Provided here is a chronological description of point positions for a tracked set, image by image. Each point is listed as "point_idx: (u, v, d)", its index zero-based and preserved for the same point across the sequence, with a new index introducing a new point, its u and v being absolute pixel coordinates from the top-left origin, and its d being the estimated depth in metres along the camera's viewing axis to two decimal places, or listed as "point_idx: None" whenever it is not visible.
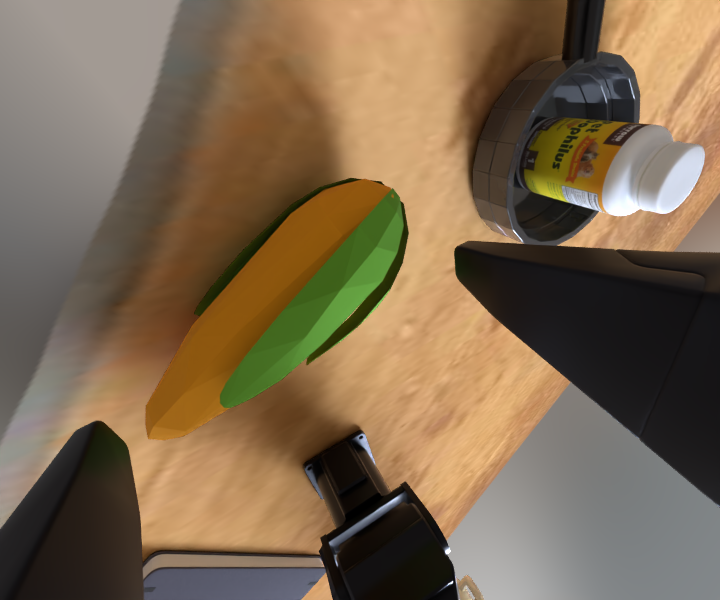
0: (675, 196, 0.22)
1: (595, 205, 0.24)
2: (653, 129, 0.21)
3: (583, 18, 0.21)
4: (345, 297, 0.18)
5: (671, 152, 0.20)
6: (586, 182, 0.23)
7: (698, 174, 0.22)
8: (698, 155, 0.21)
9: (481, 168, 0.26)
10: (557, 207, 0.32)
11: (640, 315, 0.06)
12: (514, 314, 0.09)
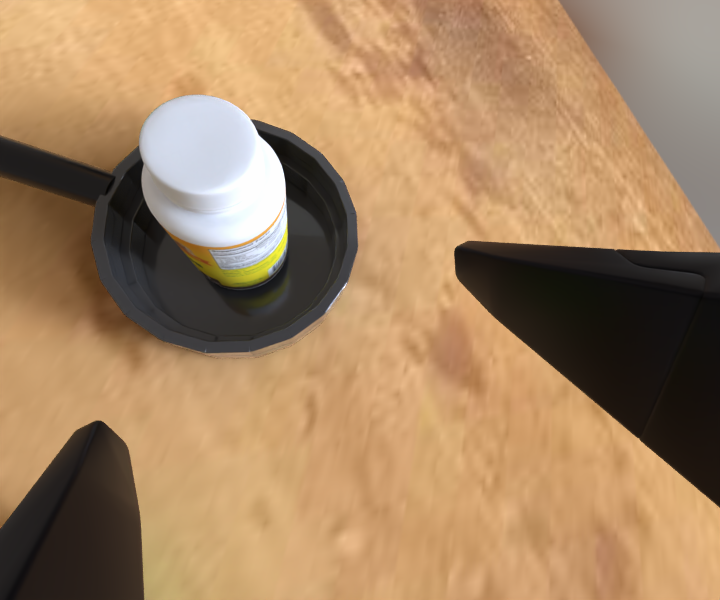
0: (224, 154, 0.12)
1: (238, 250, 0.15)
2: None
3: (58, 186, 0.18)
4: None
5: None
6: (197, 253, 0.15)
7: (222, 106, 0.13)
8: (176, 107, 0.13)
9: None
10: (332, 240, 0.23)
11: (641, 316, 0.06)
12: (514, 314, 0.09)
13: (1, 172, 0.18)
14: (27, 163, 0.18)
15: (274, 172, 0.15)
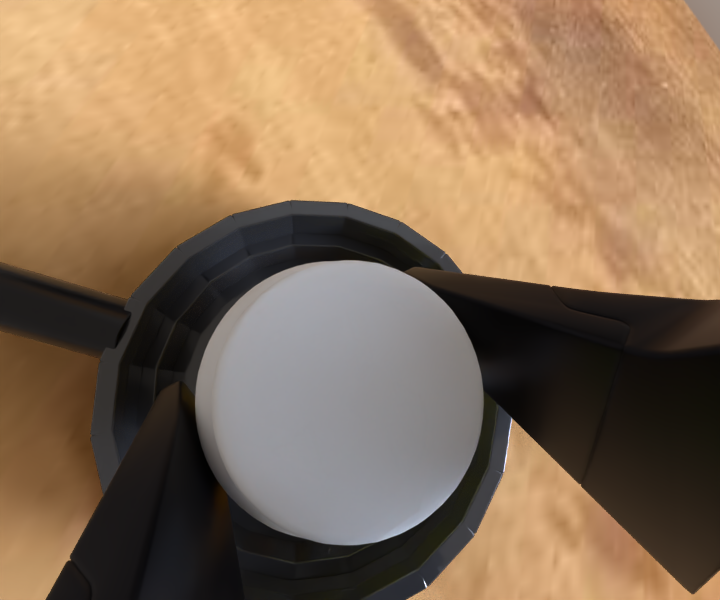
0: (414, 418, 0.05)
1: None
2: (207, 349, 0.07)
3: (36, 334, 0.11)
4: None
5: None
6: None
7: (395, 287, 0.06)
8: (296, 303, 0.05)
9: None
10: None
11: (568, 362, 0.06)
12: None
13: None
14: None
15: None
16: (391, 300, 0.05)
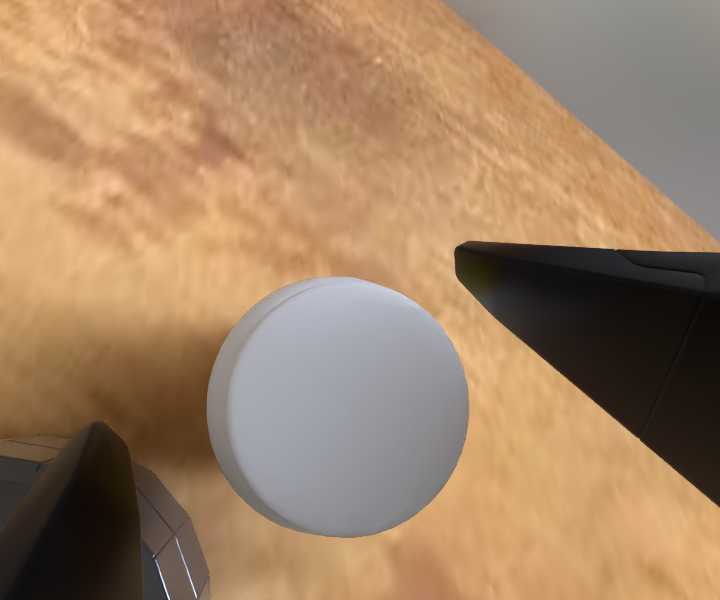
0: (405, 425, 0.06)
1: None
2: (217, 359, 0.08)
3: None
4: None
5: None
6: None
7: (389, 306, 0.06)
8: (300, 321, 0.06)
9: None
10: None
11: (640, 315, 0.06)
12: (514, 314, 0.09)
13: None
14: None
15: None
16: (385, 317, 0.06)
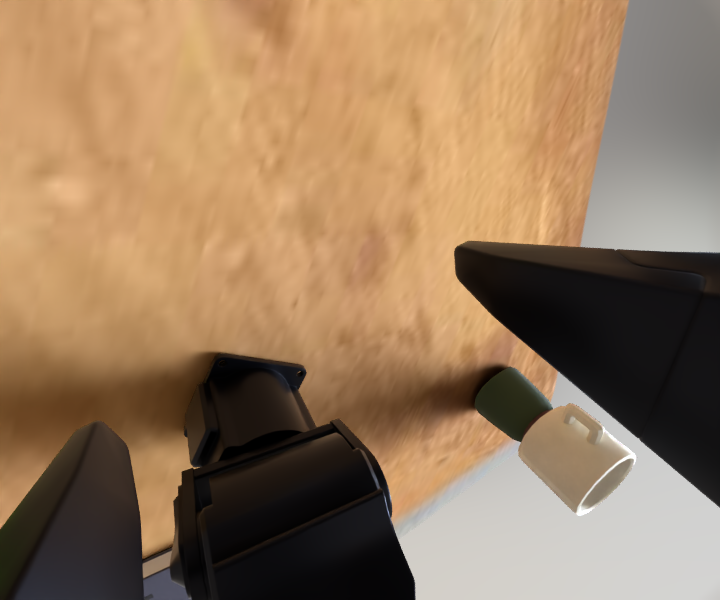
0: None
1: None
2: None
3: None
4: None
5: None
6: None
7: None
8: None
9: None
10: None
11: (641, 315, 0.06)
12: (514, 314, 0.09)
13: None
14: None
15: None
16: None
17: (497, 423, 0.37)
